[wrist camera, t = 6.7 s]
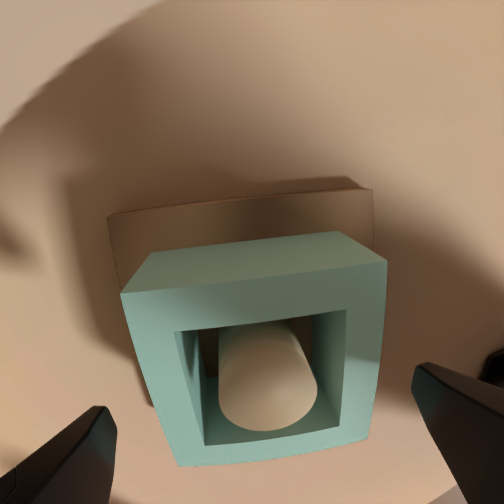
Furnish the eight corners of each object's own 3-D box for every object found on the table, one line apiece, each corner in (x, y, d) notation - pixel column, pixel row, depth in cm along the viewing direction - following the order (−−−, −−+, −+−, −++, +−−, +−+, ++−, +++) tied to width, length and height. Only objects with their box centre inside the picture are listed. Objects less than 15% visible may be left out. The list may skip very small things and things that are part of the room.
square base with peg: (363, 188, 12) (441, 205, 7) (356, 387, 15) (396, 457, 10) (113, 214, 12) (50, 246, 7) (163, 412, 14) (149, 492, 9)
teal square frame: (338, 230, 12) (387, 260, 8) (336, 379, 14) (367, 438, 10) (151, 252, 11) (120, 293, 8) (185, 400, 13) (178, 466, 10)
